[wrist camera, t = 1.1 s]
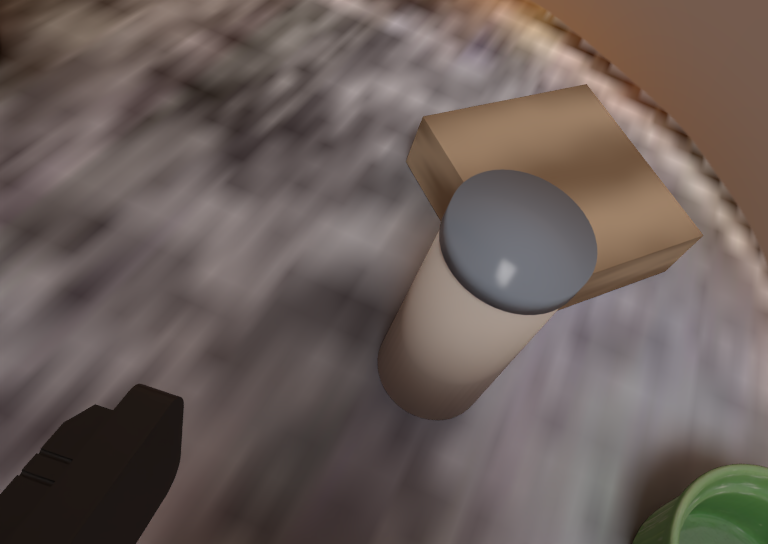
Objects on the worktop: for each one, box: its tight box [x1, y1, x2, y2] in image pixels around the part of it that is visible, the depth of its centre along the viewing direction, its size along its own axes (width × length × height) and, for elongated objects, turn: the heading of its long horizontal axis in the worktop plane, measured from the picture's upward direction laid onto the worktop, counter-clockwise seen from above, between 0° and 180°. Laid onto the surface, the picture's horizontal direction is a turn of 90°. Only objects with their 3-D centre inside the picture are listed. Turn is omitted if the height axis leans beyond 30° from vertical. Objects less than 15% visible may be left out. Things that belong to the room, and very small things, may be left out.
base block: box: [406, 84, 703, 310], centre depth 37 cm, size 11×11×4 cm
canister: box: [378, 169, 597, 420], centre depth 27 cm, size 5×5×11 cm
